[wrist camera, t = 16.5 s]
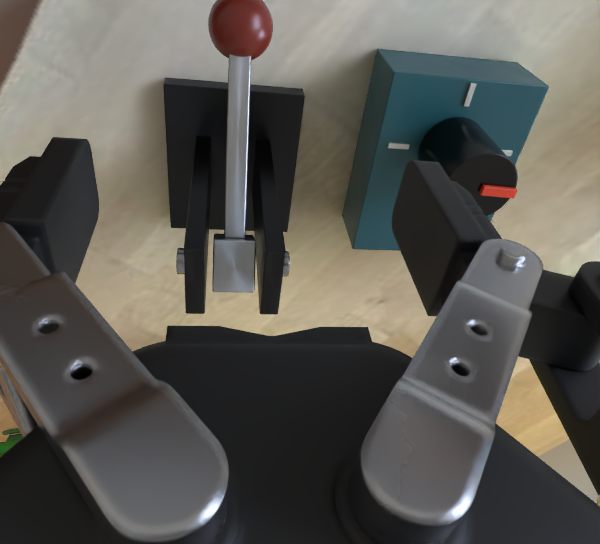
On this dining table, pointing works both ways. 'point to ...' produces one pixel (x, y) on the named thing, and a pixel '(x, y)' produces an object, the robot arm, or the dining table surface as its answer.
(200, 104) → the lever bracket
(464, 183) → the knob
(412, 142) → the dial panel
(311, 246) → the dining table surface
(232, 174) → the lever
